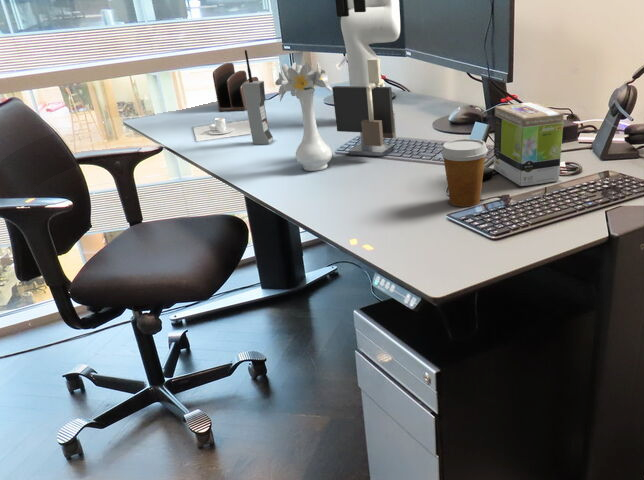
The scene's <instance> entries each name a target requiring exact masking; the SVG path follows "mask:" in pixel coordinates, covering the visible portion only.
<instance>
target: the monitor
mask: <svg viewBox="0 0 644 480" xmlns="http://www.w3.org/2000/svg"><path fill="white" fill-rule="evenodd" d="M331 89H332V91H333V92H332V98H333V106H334V114H335V115H334V116H335V124H336V132H341V133H342V132H344V133H359V135H360V143H359V144H357V145H355V146H354V147H352V148H351V149H349V150H348V155H349V156H361V157H362V156H363V157H378V158H379V157H380V158H382V157H385V156H387V155H388V154H389V153H391V152H392V151H393V150H394V144H383V145H382V146H365V145H363V136H362V125H361V121H363V120H369V113H368V101H367V89H366V87H362V86H350V85H334V86H332V88H331ZM371 91H372V103H373V116H374V120H382V130H383V133H388V134H392V133H394V119H393V113H394V107H393V106H394V105H393V91H392V86H385V87H376V88H374V89H372V90H371Z"/></svg>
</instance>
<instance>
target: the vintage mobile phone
mask: <svg viewBox="0 0 644 480" xmlns="http://www.w3.org/2000/svg"><path fill="white" fill-rule="evenodd" d="M244 56H245V62H246V68H247V75H248V76H247V77H248V79H249V81H248V82H246V83H244V84H243V90H244V96H245V102H246V107H247V109H246V112H247V118H248V120H249V124H250V129H251V134H250V135H251V140H252V144H253V145H270V144H271V143H273V142H274V137H273V135H272V133H271V132H270V129H269V124H268V117H267V112H266V106H265V102H266V91H265V81H264V80H259V81H253V80H252V77H253V76H252V75H253V74H252V71H251V67H250V61H249V56H248V50H247V49H245V50H244Z"/></svg>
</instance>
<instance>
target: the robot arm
mask: <svg viewBox="0 0 644 480" xmlns="http://www.w3.org/2000/svg"><path fill="white" fill-rule="evenodd" d="M334 1H335V10H336V16H337V17H338V18H340V29H341V33H342V37H343V41H344V46H345V52H346V60H347V69H348V79H349V80H348V81H349V86H362V87H367V86H368V85H370V84H372V83H369V76H368V64H367V60H368V59H379V57H378V55H377V53H376V52H375V51H374V50H373V49H372V48H371V46H370V45H372V44H382V43H383V44H385V43H392V42H396V41H397V40H398V39H399V38H400V35H401V14H400V13H401V12H400V9H401V8H400V0H334ZM378 87H380V86H378Z"/></svg>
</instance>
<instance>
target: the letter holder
mask: <svg viewBox="0 0 644 480" xmlns="http://www.w3.org/2000/svg"><path fill="white" fill-rule="evenodd" d="M247 75H248V74H247V72H246V70H238V71H236V70H235V65H234V63H233V62H226V63H223V64H221V65H219V66H218V67H216V68H215V69H214V70H213V71H212V79H213V85H214V91H215V97H216V101H217V106H218V111H219V112H235V111H236V112H237V111H247V107H246V102H245V96H244V90H243V84H244V83H246V82H248V81H249V78H248V76H247ZM252 80H253V81H260V80H259V78H258V77H257V76H252Z"/></svg>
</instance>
